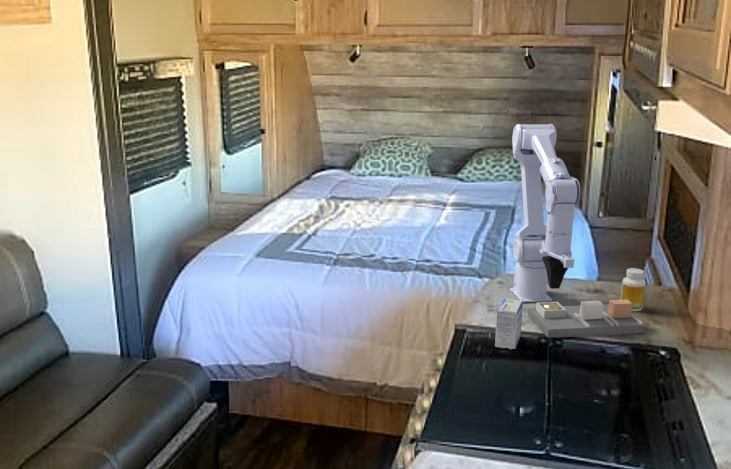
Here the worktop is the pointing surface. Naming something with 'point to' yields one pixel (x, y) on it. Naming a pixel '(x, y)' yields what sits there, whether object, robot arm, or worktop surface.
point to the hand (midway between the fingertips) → (554, 287)
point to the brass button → (550, 306)
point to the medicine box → (508, 324)
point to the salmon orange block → (620, 308)
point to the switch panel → (580, 322)
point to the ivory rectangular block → (591, 310)
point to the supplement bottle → (634, 288)
